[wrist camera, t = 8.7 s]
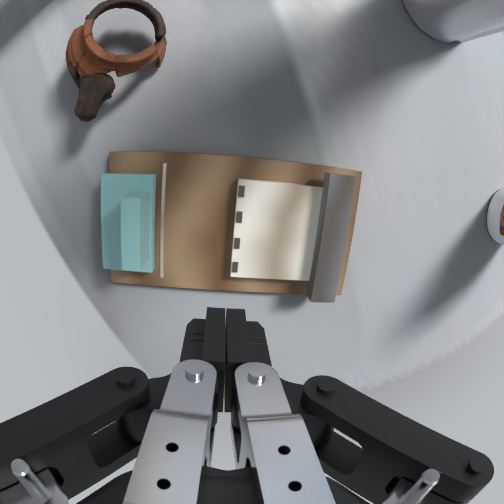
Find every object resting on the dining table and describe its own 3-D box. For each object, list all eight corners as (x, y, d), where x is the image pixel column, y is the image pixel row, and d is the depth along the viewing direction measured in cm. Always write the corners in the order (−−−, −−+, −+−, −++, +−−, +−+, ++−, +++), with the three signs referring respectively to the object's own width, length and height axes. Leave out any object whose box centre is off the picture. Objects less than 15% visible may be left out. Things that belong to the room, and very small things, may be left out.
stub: (156, 174, 27) (143, 178, 23) (154, 268, 30) (143, 288, 25) (105, 173, 27) (85, 177, 22) (107, 264, 29) (89, 283, 25)
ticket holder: (357, 171, 30) (374, 174, 26) (337, 291, 34) (349, 307, 30) (113, 151, 27) (98, 152, 24) (114, 278, 31) (102, 293, 27)
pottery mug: (79, 28, 23) (90, -18, 16) (158, 43, 28) (187, 4, 21) (47, 129, 23) (42, 99, 17) (136, 141, 29) (161, 116, 22)
